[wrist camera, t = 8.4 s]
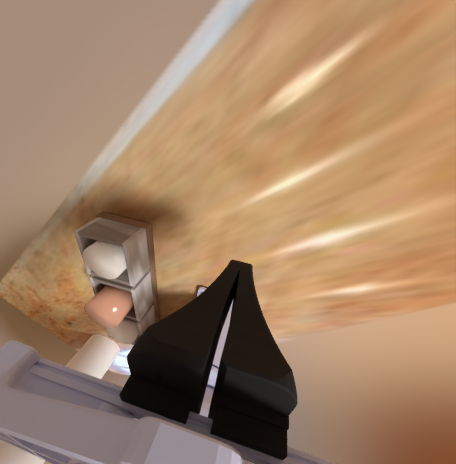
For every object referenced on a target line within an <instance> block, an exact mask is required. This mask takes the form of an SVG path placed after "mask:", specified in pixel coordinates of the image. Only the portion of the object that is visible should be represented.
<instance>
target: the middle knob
mask: <svg viewBox="0 0 456 464" xmlns="http://www.w3.org/2000/svg"><path fill="white" fill-rule="evenodd" d="M133 306H134V304H133V298H132V293H131V292H130V291H126V290H123V289H119V288H116V287H112V286H109V285H106V286H105V287H104V288H103V289H102V290H101V291H100V292H99V293H98V294H96V295H95V296H94V297H93V298H92V299H91V300H90V301H89V302H88V303H87V304H86V305H85V312H86V314H87V315H88V316H89V317H90V318H91V319H92V320H93V321H94V322H96V323H97V324H99V325H101V326H103V327H106V328H116V327H117V326H118V325H119V324H120V322H121V321H122V320H123V319H124V317H125V316H126V315H127V313H128V312H129V311H130V310H131V308H132V307H133Z"/></svg>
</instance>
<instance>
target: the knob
mask: <svg viewBox="0 0 456 464" xmlns="http://www.w3.org/2000/svg"><path fill="white" fill-rule="evenodd" d="M107 332H108V333H109V334H110V336H112V337H113V338H114V339H116V340H117V341H119V342H122V343H125V344H132V343H134V341H135V340H136V338H137V337H138V335H139V331H138V325H135V324H132V323H129V322H126V321H121V322H120V324H119V325H118V326H117V327H116V328H107Z"/></svg>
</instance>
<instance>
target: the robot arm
mask: <svg viewBox="0 0 456 464" xmlns="http://www.w3.org/2000/svg"><path fill="white" fill-rule="evenodd" d="M252 267H253V266H252V265H251V264H248V263H244V262H240V261H236V260H231V261H230V263H229V264H228V266H227V267H226V268H225V270H224V271H223V272H222V273H221V274H220V276H219V277H218V278H217V279H216V280H215V281H214V282H213V283H212V284H211V285H210V286H209V287H208V288H205V287H199V289H198V293H197V297H196V298H195V299H194V300H192V301H191V302H189V303H188V304H187V305H185V306H184V307H182V308H181V309H179V310H177V311H176V312H174V313H172V314H171V315H169V316H167V317H165V318H164V319H162V320H160V321H158V322H156V323H154V324H152V325H150V326H149V327H148V328H147V329H146V330H145V331H144V332H143V333H142V335H141V336H140V337H139V338H138V340H137V341H136V343H135V344H134V346H133V348H132V349H131V351H130V353H129V354H128V356H127V361H128V365H129V369H130V372H131V375H130V377H129V379H128V380H127V382H126V384H125V386H124V387H121V386H118V385H116V384H113V383H110V382H108V381H105V380H102V379H99V378H96V377H94V376H91V375H88V374H85V373H83V372H80V371H77V370H74V369H71V368H69V367H66V366H63V365H60V364H57V363H55V362H52V361H49V360H46V359H44V358H41V357H40V354H39V353H38V352H37V350H36V349H34V348H32V347H31V346H28V345H25V344H22V343H20V342H17V341H14V340H10V341H8V342H7V343H6V344H5V345H4V346H2V347H1V348H0V440H2V441H4V442H7V443H9V444H11V445H13V446H15V447H17V448H20V449H22V450H24V451H26V452H28V453H30V454H33V455H35V456H37V457H39V458H41V459H43V460H45V461H48V462H50V463H52V464H252V463H254V464H336V463H332V462H330V461H327V460H324V459H321V458H319V457H316V456H313V455H310V454H308V453H305V452H302V451H299V450H297V449H294V448H291V447H288V446H287V430H288V429H289V415H290V413H291V412H292V411H293V410H294V408H295V407H296V405H297V392H296V386H295V381H294V376H293V372H292V369H291V368H290V366H289V365H288V363H287V361H286V360H285V358H284V357H283V355H282V353H281V352H280V350H279V348H278V346H277V344H276V342H275V340H274V338H273V336H272V334H271V332H270V330H269V328H268V326H267V323H266V321H265V319H264V316H263V313H262V311H261V308H260V305H259V302H258V298H257V295H256V290H255V286H254V281H253V272H252ZM248 461H249V462H248ZM250 462H252V463H250Z"/></svg>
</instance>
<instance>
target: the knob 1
mask: <svg viewBox="0 0 456 464" xmlns="http://www.w3.org/2000/svg"><path fill="white" fill-rule="evenodd" d="M83 258H84V261H85V263H86V264H87V266H88V267H89V268H90V269H91V270H92V271H93V272H94V273H96V274H97V275H99V276H101V277H103V278H106V279H115V278H117V277H118V276H119V275H120V274H121V273H122V272H123V271H124V270H125V269H126V268H127V266H126V261H125V255H124V250H123V247H120V246H116V245H112V244H109V243H105V242H101V241H96V242H95V243H93V244H92V245H90V246H89V247H87V248H86V249H85V250H84V252H83Z"/></svg>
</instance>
